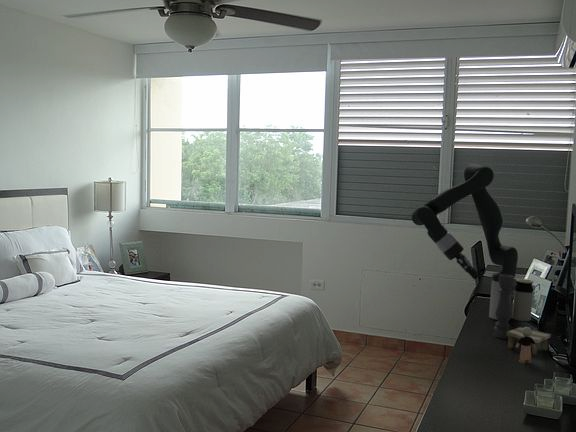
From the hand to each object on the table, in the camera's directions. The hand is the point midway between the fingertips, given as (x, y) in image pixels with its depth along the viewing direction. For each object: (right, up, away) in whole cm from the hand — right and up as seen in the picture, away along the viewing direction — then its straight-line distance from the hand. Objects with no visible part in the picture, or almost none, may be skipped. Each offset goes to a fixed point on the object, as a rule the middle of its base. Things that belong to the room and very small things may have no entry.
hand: (476, 276), depth 247 cm
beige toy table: (+14, -26, -16) cm, 34 cm away
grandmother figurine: (+7, -27, -32) cm, 43 cm away
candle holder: (+10, -25, -1) cm, 27 cm away
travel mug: (+30, -23, +29) cm, 47 cm away
